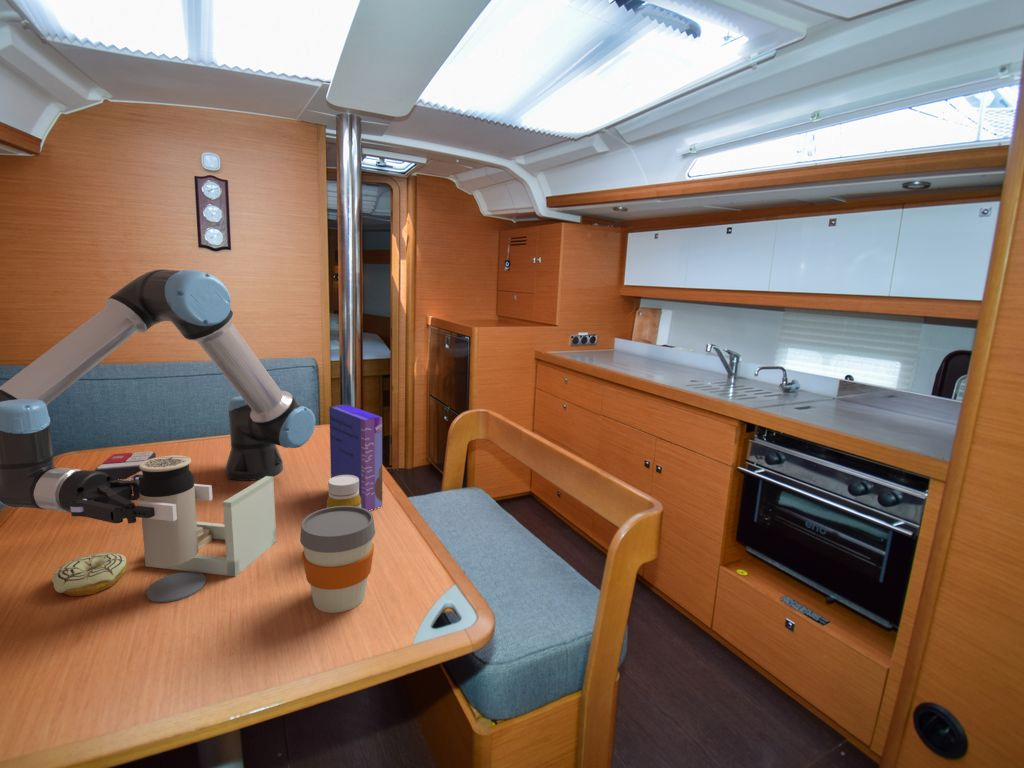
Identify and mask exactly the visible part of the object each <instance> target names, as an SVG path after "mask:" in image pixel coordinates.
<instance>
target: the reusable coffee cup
mask: <svg viewBox="0 0 1024 768" xmlns="http://www.w3.org/2000/svg"><path fill="white" fill-rule="evenodd" d="M300 526H301V528H300V536H299V540H300V544H301V545H302V547H303V551H302V554H301V555H302V556H301V557H302V562H303V566H304V567H303V568H304V573H305V576H306V577H305V578H306V582H307V583H308V584H309V586H310V590H311V596H312V602H313V603H312V604H313V606H314V607H315V608H316V609H317V610H319V611H321V612H324V613H327V614H328V613H330V614H332V613H333V614H335V613H336V614H337V613H338V614H339V613H344V612H347V611H350V610H353V609H354V608H357V607H358V606H359V605H361V603H362V602H363V601H364V600H365V598H366V594H367V586H368V579H369V578H368V577H369V575H370V574H371V571H372V566H373V556H374V549H375V546H374V543H373V538H374V537H375V534H376V530H375V529H376V527H375V521H374V514H373V513H372V511H368V510H366V509H364V508H361V507H355V506H335V507H329V508H327V507H326V508H325V507H324V508H322V509H317V510H316V511H313V512H312V513H310V514H308V515H307V516H305V518H303V520H302V521H301V525H300Z"/></svg>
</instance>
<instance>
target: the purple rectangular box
mask: <svg viewBox="0 0 1024 768" xmlns="http://www.w3.org/2000/svg"><path fill="white" fill-rule="evenodd" d="M328 410H329V411H328V412H329V439H330V440H329V445H330V446H329V448H330V451H329V452H330V453H329V454H330V479H331V478H332V477H335V476H339V475H353V476H356V477H358V478H359V495H360V497H361V508H364V509H366V510H368V511H369V510H371V509H375V508H378V507H381V506H382V507H383V417H382V416H380V415H378V414H374V413H372V412H368V411H366V410H363V409H361V408H358V407H355V406H352V405H349V404H344V403H343V404H336V405H331V406H329V409H328Z"/></svg>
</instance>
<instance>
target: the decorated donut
mask: <svg viewBox="0 0 1024 768" xmlns="http://www.w3.org/2000/svg"><path fill="white" fill-rule="evenodd" d="M127 565H128V562H127V558H126V556H125V555H123V554H121V553H119V552H118V553H117V552H98V553H97V552H96V553H94V554H89V555H84V556H81V557H77V558H74V559H72V560H70V561H68V562H66V563H64V564H63V565H62V566H61V567H59V568H57V569H56V570H55V571H54V573H53V576H52V577H51V581H52V583H53V584H52V585H53V589H54V590H55V592H57V593H59V594H64V595H66V596H69V597H79V596H80V597H82V596H83V597H84V596H89V595H95V594H97V593H98V592H101V591H104V590H106V589H108V588H111V587H112V586H113V585H115V584H117V583H118V582H119V580H120V579H121V578H122V577H123V576H124V574H125V573H126V571H127Z"/></svg>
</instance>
